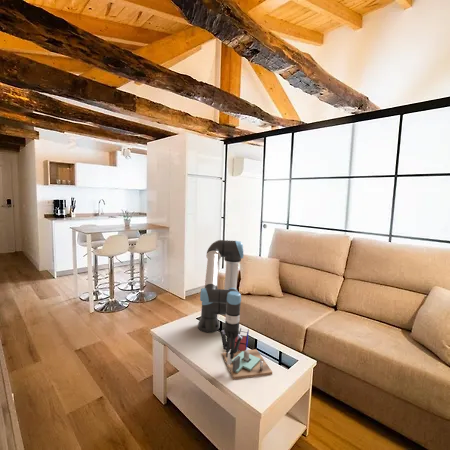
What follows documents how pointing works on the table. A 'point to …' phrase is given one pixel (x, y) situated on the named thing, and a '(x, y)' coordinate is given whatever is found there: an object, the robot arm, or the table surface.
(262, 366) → the stop dowel
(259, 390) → the table surface
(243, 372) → the board
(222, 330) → the robot arm
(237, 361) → the flange plate
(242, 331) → the puzzle cube
